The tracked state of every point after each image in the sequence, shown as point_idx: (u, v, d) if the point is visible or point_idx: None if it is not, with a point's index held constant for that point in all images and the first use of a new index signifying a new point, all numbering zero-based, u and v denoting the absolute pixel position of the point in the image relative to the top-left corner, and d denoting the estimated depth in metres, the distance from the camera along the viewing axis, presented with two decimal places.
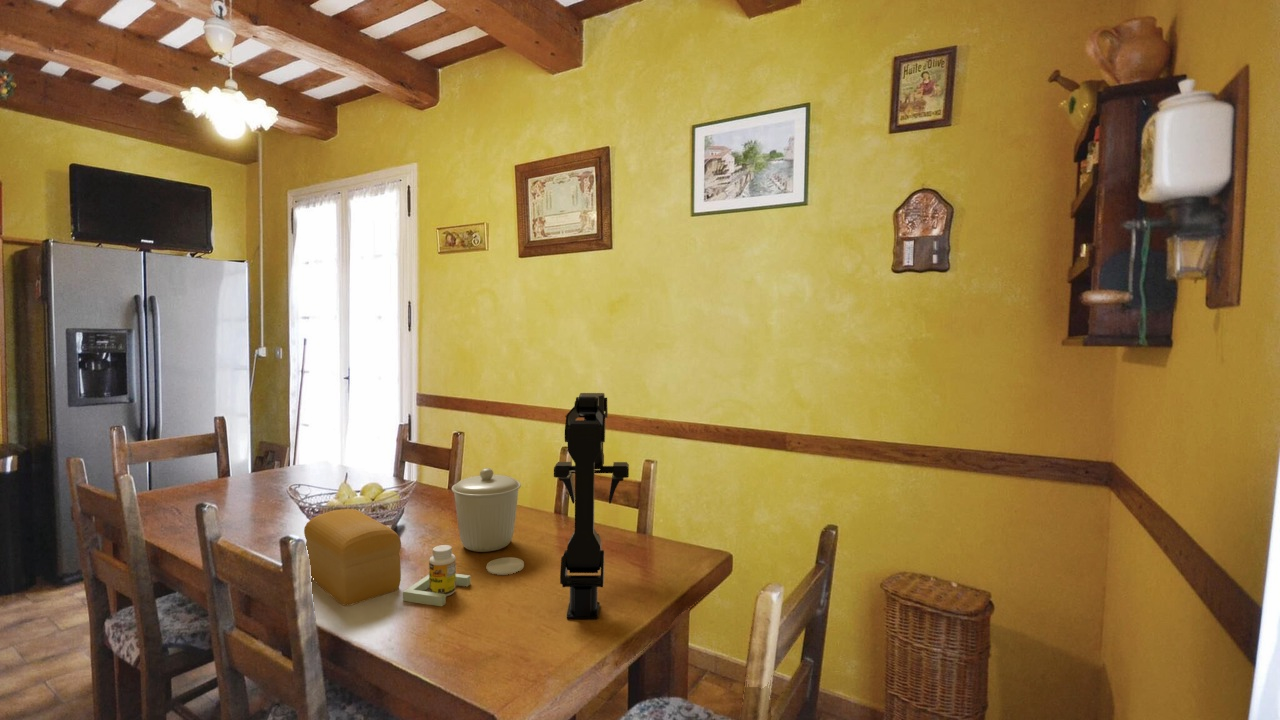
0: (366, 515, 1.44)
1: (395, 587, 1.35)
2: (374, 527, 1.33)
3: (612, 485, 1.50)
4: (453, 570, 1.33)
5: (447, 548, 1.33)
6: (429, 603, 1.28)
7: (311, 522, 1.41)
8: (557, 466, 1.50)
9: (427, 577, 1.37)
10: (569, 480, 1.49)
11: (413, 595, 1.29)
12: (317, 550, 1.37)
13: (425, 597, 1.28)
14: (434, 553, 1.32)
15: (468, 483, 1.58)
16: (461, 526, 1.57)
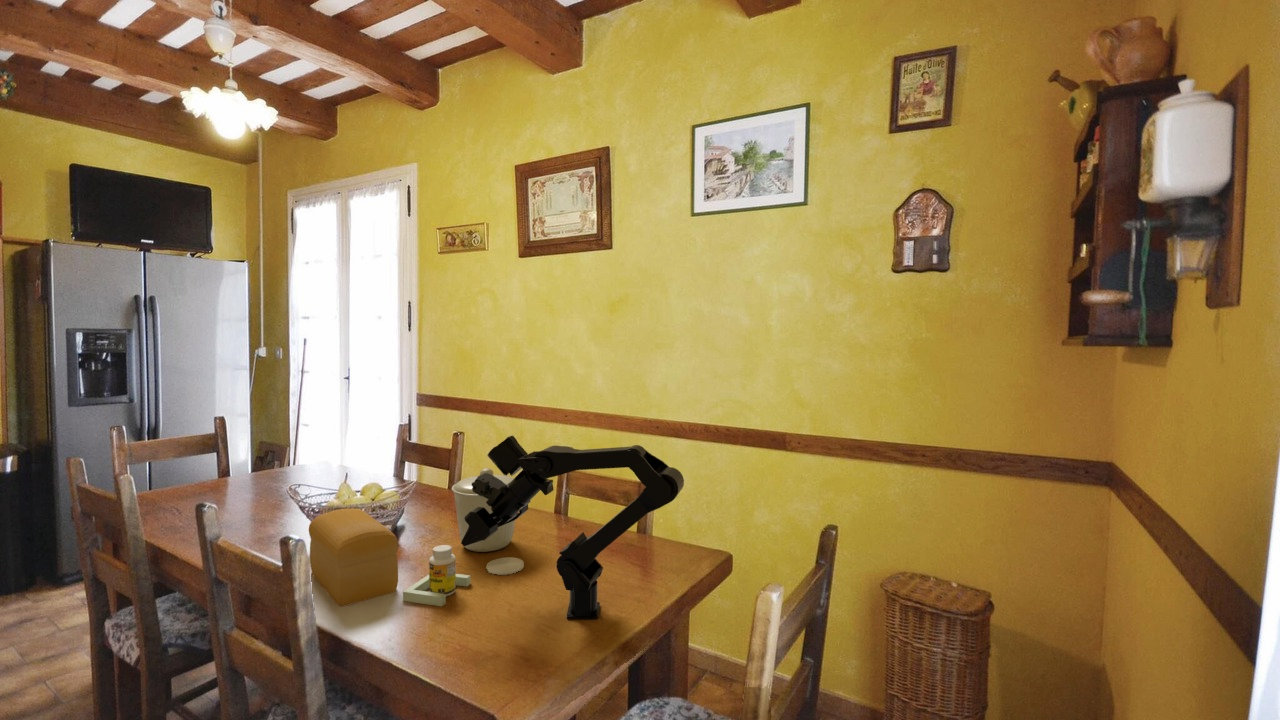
0: (368, 515, 1.44)
1: (392, 589, 1.34)
2: (371, 528, 1.33)
3: (508, 522, 1.35)
4: (453, 570, 1.33)
5: (447, 548, 1.33)
6: (429, 603, 1.28)
7: (315, 520, 1.42)
8: (490, 528, 1.20)
9: (427, 577, 1.37)
10: None
11: (413, 595, 1.29)
12: (318, 549, 1.38)
13: (425, 597, 1.28)
14: (434, 553, 1.32)
15: (468, 483, 1.58)
16: (461, 526, 1.57)
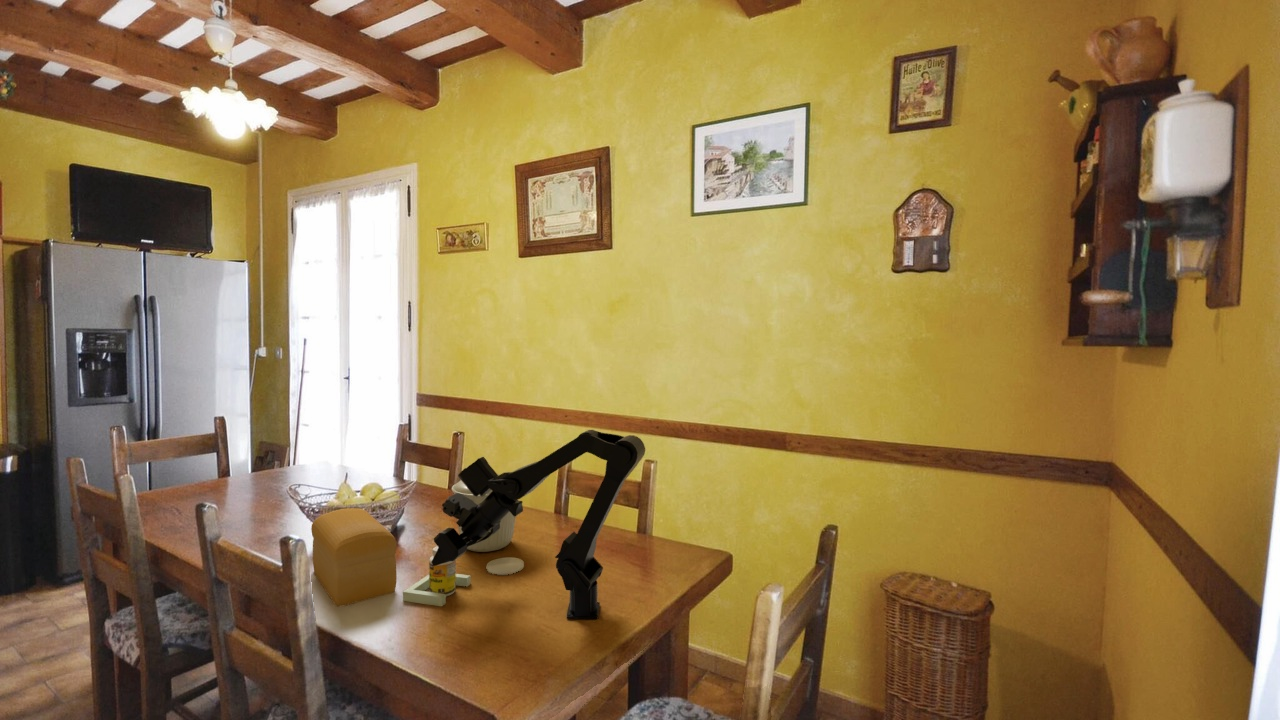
0: (369, 515, 1.44)
1: (390, 589, 1.33)
2: (370, 528, 1.33)
3: (479, 541, 1.37)
4: (453, 570, 1.33)
5: None
6: (429, 603, 1.28)
7: (317, 520, 1.42)
8: (458, 550, 1.22)
9: (427, 577, 1.37)
10: None
11: (413, 595, 1.29)
12: (319, 548, 1.38)
13: (425, 597, 1.28)
14: (434, 553, 1.32)
15: None
16: None
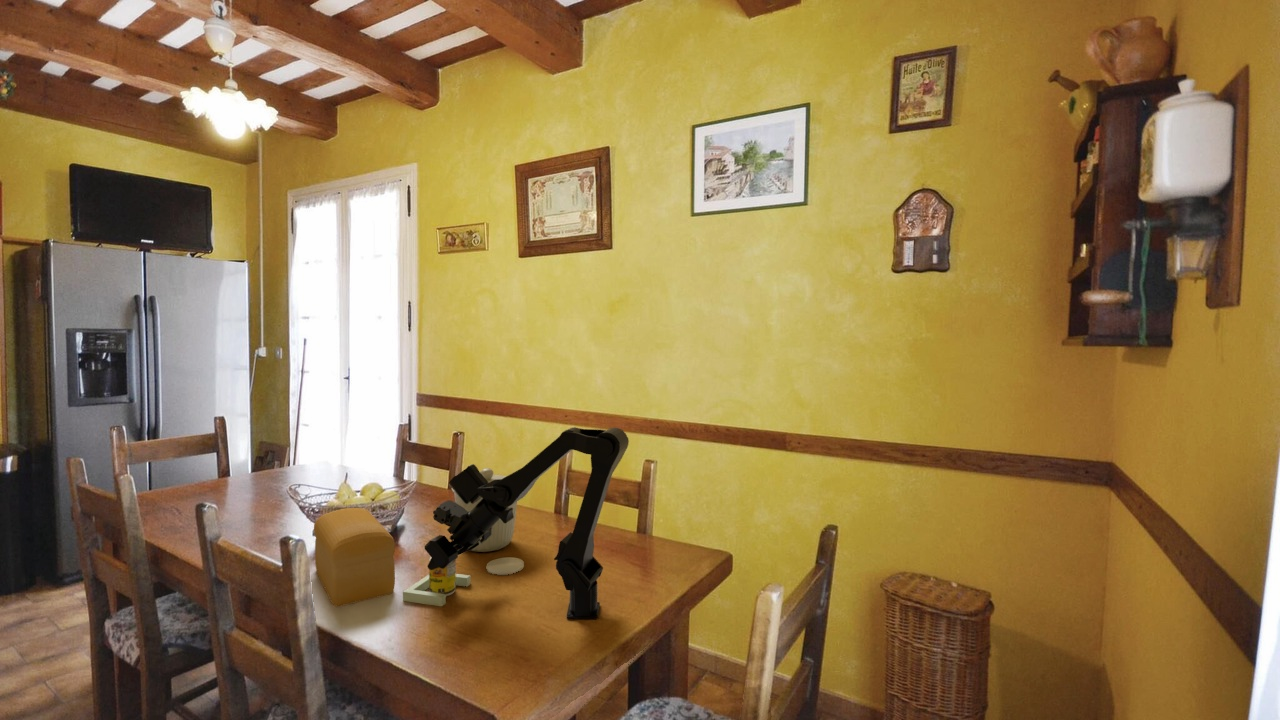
0: (370, 515, 1.44)
1: (389, 590, 1.33)
2: (368, 529, 1.32)
3: None
4: (453, 570, 1.33)
5: None
6: (429, 603, 1.28)
7: (319, 519, 1.43)
8: (449, 557, 1.23)
9: (427, 577, 1.37)
10: None
11: (413, 595, 1.29)
12: (320, 548, 1.39)
13: (425, 597, 1.28)
14: None
15: None
16: None
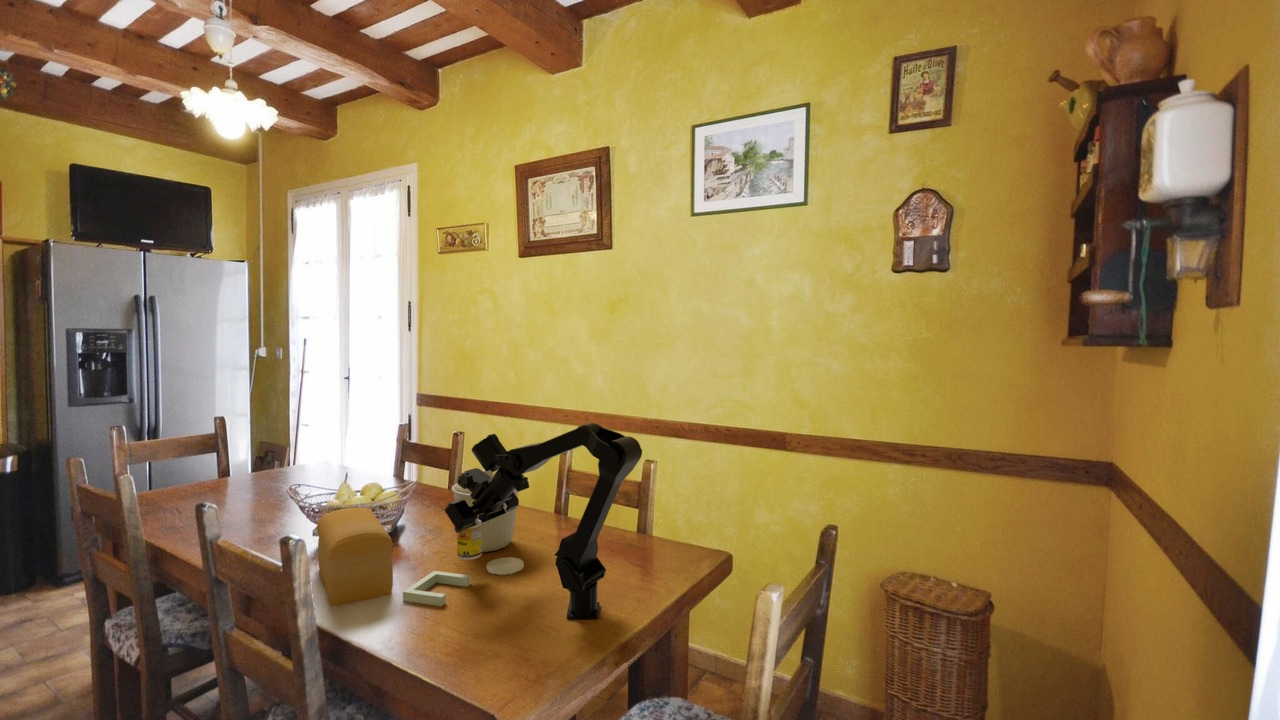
0: (372, 515, 1.44)
1: (386, 591, 1.32)
2: (366, 529, 1.32)
3: None
4: (478, 535, 1.39)
5: None
6: (429, 603, 1.28)
7: (322, 518, 1.43)
8: (465, 520, 1.29)
9: (427, 577, 1.37)
10: (474, 525, 1.34)
11: (413, 595, 1.29)
12: (322, 547, 1.39)
13: (425, 597, 1.28)
14: None
15: None
16: None
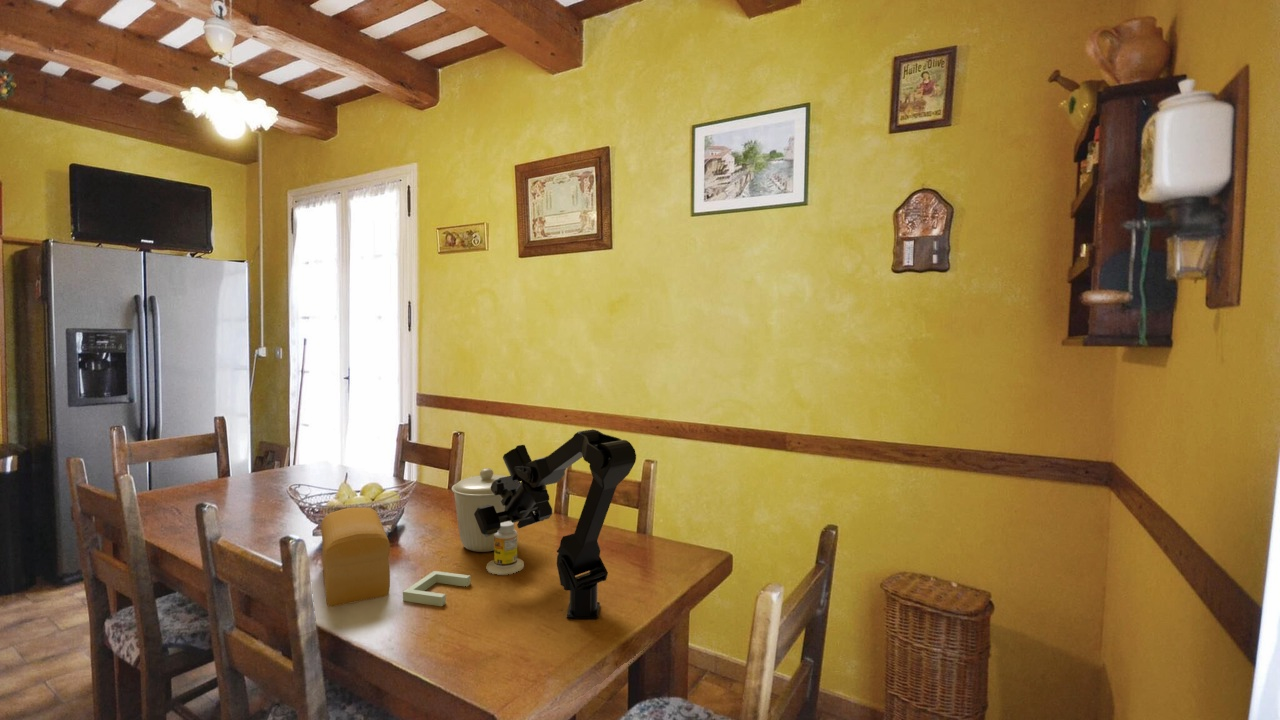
0: (373, 515, 1.43)
1: (383, 593, 1.32)
2: (364, 530, 1.32)
3: (532, 523, 1.48)
4: (511, 545, 1.45)
5: (508, 524, 1.46)
6: (429, 603, 1.28)
7: (325, 517, 1.44)
8: (488, 525, 1.36)
9: (427, 577, 1.37)
10: (496, 532, 1.40)
11: (413, 595, 1.29)
12: None
13: (425, 597, 1.28)
14: None
15: (468, 483, 1.58)
16: (461, 526, 1.57)
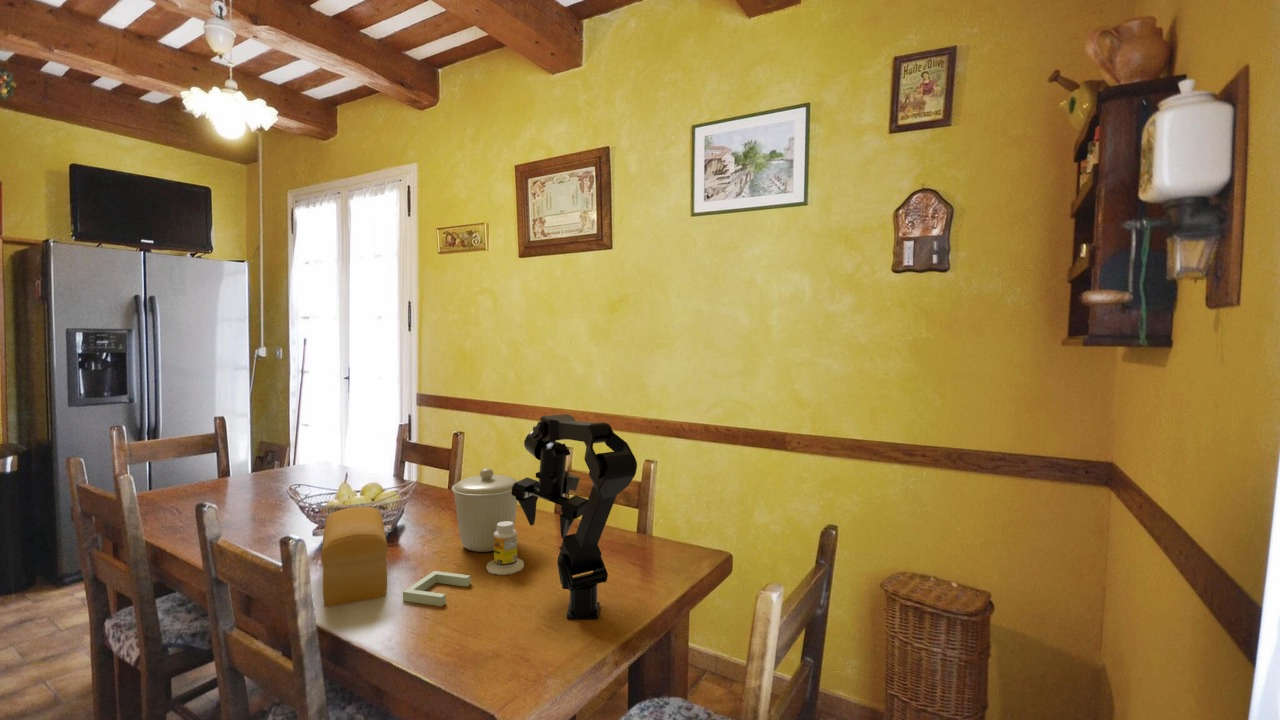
0: (375, 516, 1.43)
1: (380, 594, 1.31)
2: (361, 530, 1.31)
3: (561, 521, 1.34)
4: (511, 545, 1.45)
5: (508, 524, 1.46)
6: (429, 603, 1.28)
7: (328, 517, 1.45)
8: (515, 484, 1.39)
9: (427, 577, 1.37)
10: (523, 502, 1.38)
11: (413, 595, 1.29)
12: None
13: (425, 597, 1.28)
14: (497, 527, 1.47)
15: (468, 483, 1.58)
16: (461, 526, 1.57)
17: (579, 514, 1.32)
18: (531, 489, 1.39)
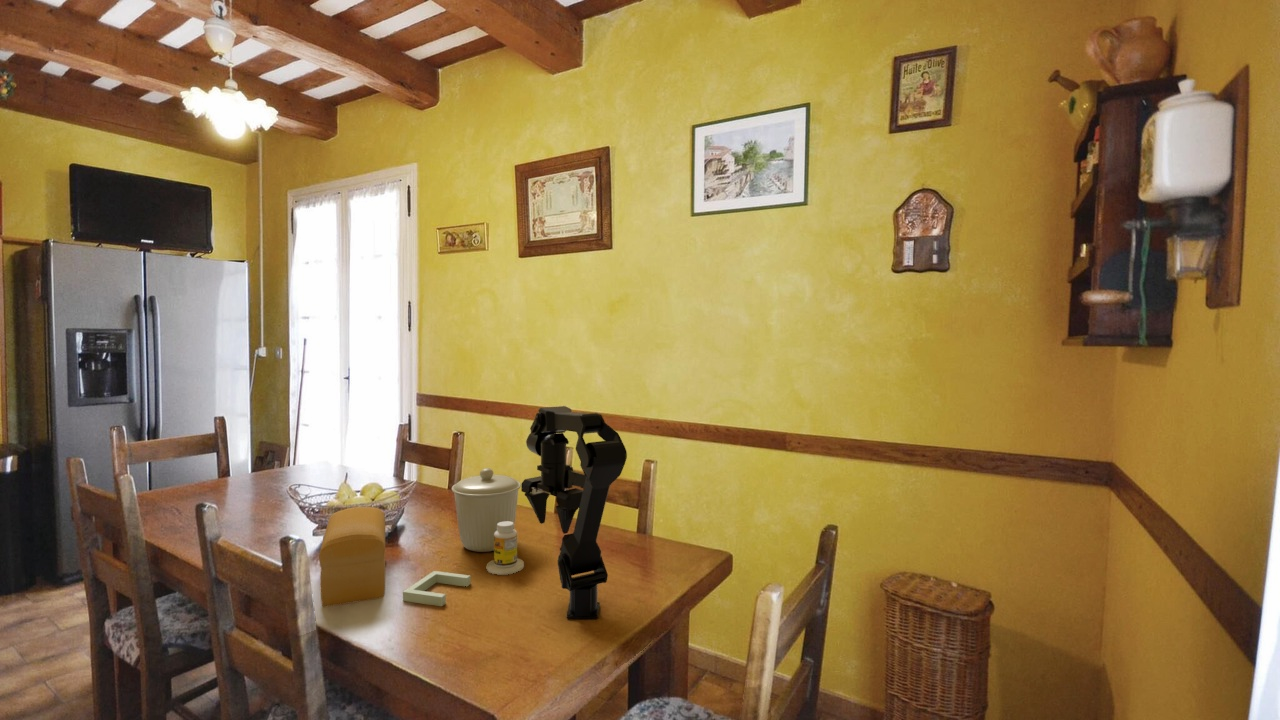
0: (376, 516, 1.43)
1: (377, 595, 1.31)
2: (359, 530, 1.31)
3: (558, 513, 1.33)
4: (511, 545, 1.46)
5: (508, 524, 1.47)
6: (429, 603, 1.28)
7: (331, 516, 1.45)
8: (525, 480, 1.42)
9: (427, 577, 1.37)
10: (530, 497, 1.40)
11: (413, 595, 1.29)
12: None
13: (425, 597, 1.28)
14: (497, 527, 1.47)
15: (468, 483, 1.58)
16: (461, 526, 1.57)
17: (572, 504, 1.30)
18: None
